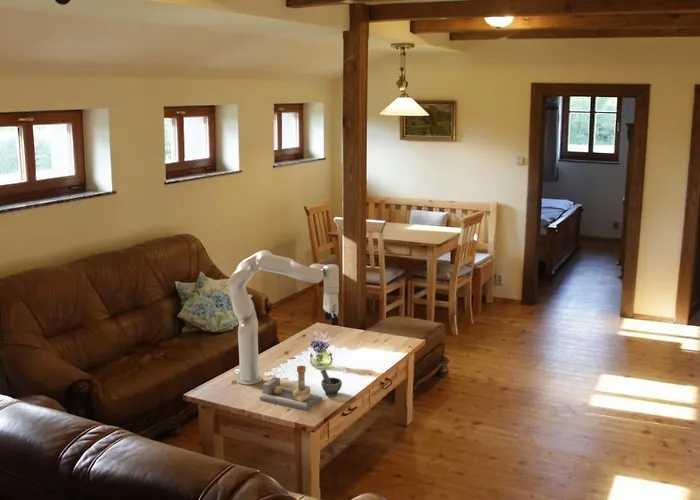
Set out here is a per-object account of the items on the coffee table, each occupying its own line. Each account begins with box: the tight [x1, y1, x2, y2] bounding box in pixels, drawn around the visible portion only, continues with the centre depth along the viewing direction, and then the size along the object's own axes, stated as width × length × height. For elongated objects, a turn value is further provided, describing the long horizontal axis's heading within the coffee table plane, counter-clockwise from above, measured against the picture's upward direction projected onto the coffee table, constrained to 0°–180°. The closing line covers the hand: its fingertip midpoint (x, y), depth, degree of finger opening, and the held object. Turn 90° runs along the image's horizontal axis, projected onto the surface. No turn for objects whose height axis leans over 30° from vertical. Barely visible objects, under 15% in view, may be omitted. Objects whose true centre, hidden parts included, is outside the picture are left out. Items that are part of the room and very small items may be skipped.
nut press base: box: [259, 376, 323, 412], centre depth 374 cm, size 26×14×8 cm, turn 62°
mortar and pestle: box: [320, 368, 343, 398], centre depth 380 cm, size 11×9×12 cm
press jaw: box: [293, 365, 311, 402], centre depth 370 cm, size 4×9×16 cm, turn 151°
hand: (331, 322), depth 395 cm, fingers open, 9 cm apart
